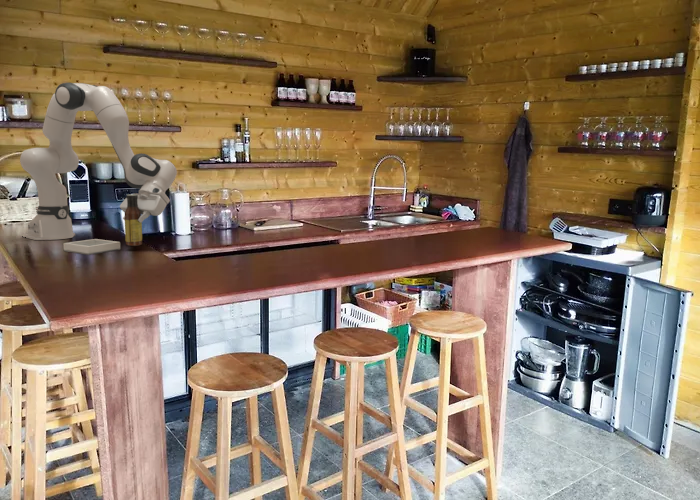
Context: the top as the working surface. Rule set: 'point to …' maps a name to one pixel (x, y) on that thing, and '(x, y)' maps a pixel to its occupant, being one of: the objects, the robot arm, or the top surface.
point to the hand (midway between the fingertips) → (132, 220)
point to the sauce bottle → (132, 222)
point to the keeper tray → (91, 246)
